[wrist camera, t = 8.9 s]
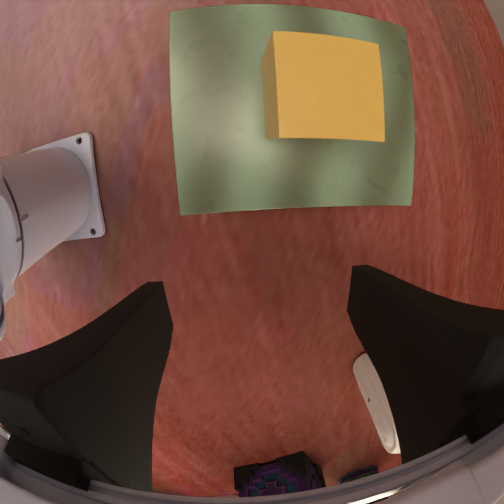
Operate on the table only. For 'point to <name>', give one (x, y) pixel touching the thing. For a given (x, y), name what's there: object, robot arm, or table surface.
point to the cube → (322, 87)
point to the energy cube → (279, 477)
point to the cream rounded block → (376, 402)
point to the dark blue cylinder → (358, 475)
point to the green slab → (253, 121)
